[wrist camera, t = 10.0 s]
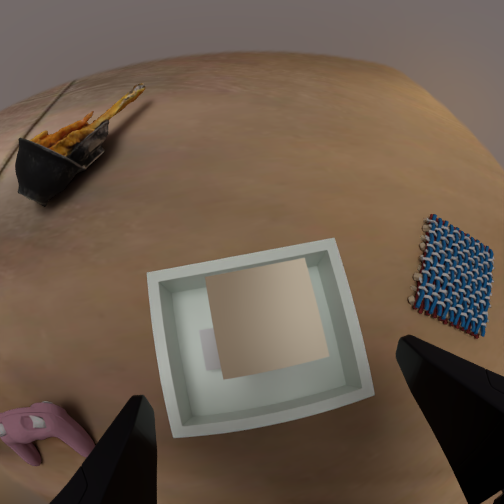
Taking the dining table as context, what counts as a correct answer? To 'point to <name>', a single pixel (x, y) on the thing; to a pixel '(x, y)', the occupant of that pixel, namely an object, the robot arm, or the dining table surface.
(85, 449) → the video game controller
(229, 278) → the plate
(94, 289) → the dining table surface
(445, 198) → the dining table surface
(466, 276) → the woven mat
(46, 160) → the fried shrimp in bowl
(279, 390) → the box
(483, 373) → the robot arm
